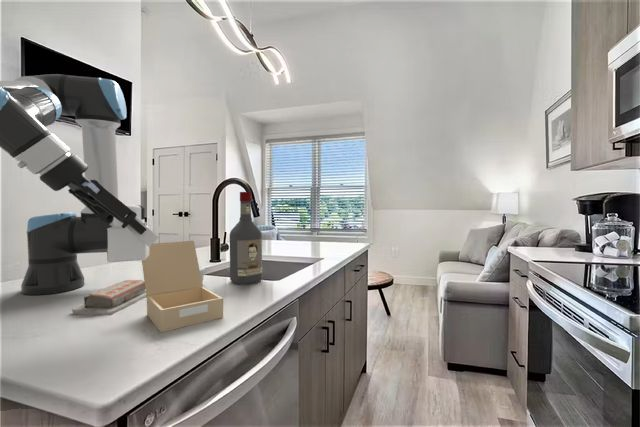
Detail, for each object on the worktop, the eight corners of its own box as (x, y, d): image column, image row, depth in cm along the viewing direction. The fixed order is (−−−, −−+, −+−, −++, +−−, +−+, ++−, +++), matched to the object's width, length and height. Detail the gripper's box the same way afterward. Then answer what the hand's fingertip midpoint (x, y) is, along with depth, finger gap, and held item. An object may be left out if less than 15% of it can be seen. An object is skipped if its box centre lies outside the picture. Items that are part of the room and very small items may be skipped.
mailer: (141, 307, 82) (139, 244, 81) (194, 297, 90) (193, 240, 90) (161, 332, 66) (159, 254, 66) (223, 317, 75) (222, 248, 74)
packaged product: (119, 278, 95) (153, 278, 95) (120, 294, 95) (153, 295, 95) (70, 296, 77) (111, 296, 77) (71, 316, 77) (112, 316, 77)
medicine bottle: (114, 257, 74) (113, 204, 73) (149, 255, 76) (149, 204, 76) (106, 262, 67) (106, 204, 67) (145, 260, 70) (145, 204, 69)
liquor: (227, 281, 109) (226, 192, 108) (251, 276, 116) (250, 192, 114) (240, 286, 103) (239, 191, 102) (265, 281, 109) (264, 192, 108)
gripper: (28, 179, 67) (116, 248, 79) (47, 173, 53) (151, 258, 65) (60, 157, 71) (139, 226, 83) (86, 144, 56) (177, 230, 69)
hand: (144, 240), depth 74 cm, fingers closed on medicine bottle, 9 cm apart
